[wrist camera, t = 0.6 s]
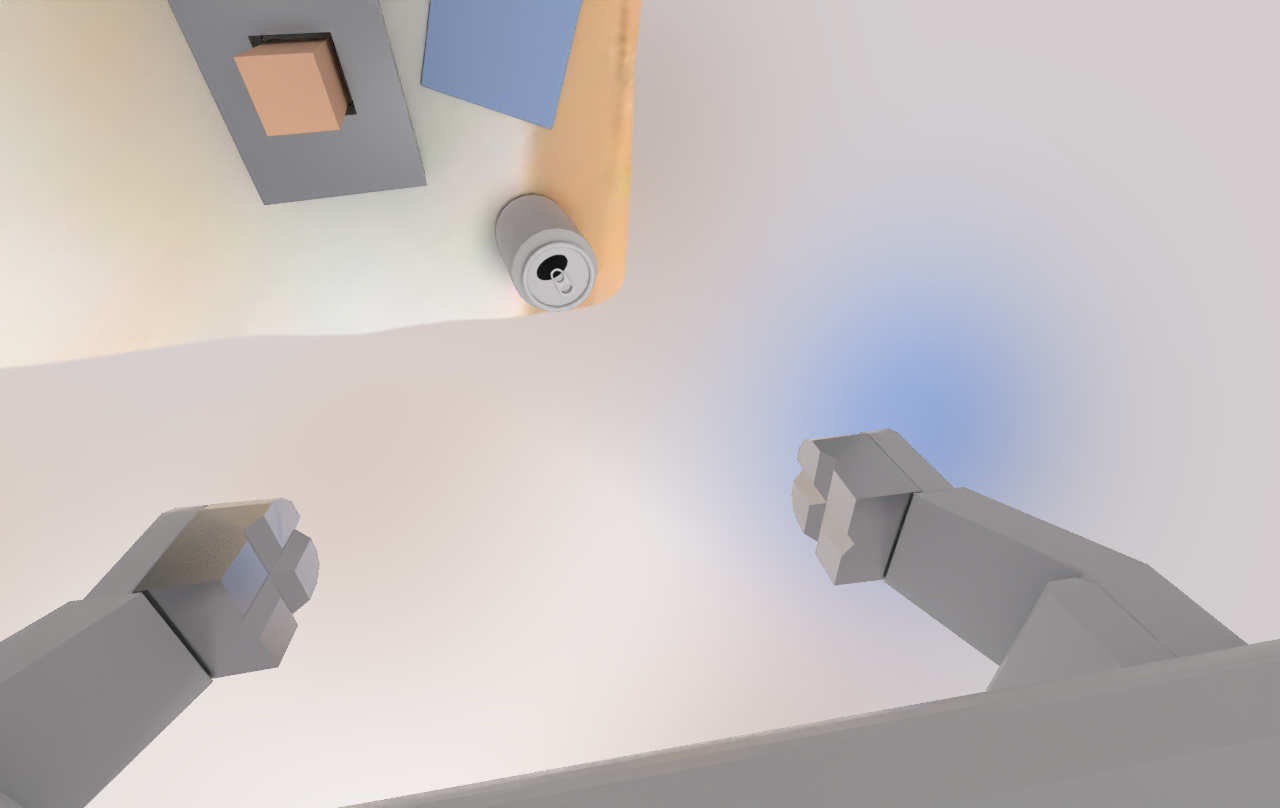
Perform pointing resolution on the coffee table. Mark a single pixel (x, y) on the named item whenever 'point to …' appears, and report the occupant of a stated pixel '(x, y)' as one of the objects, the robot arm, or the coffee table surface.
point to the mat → (501, 53)
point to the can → (545, 254)
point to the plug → (295, 85)
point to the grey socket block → (316, 161)
